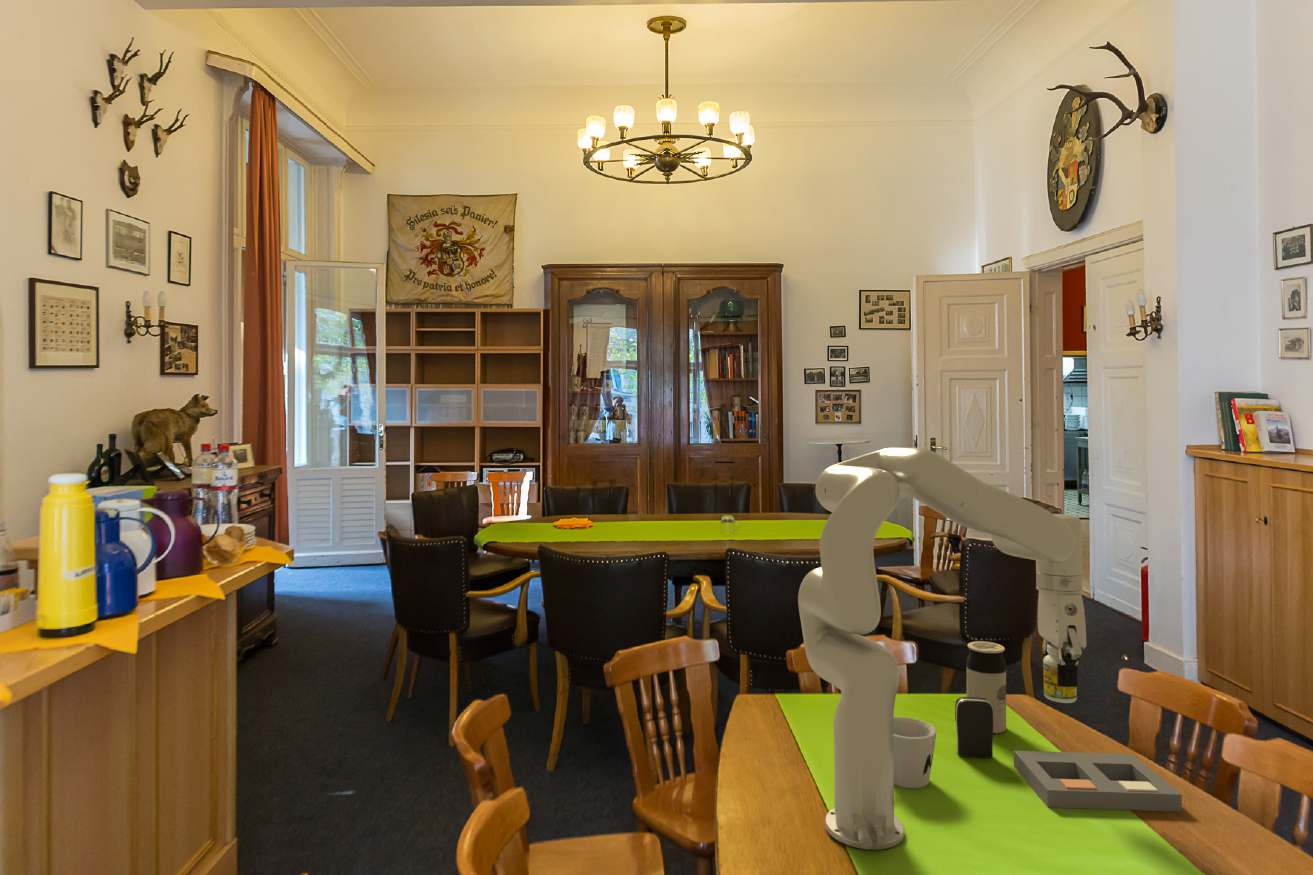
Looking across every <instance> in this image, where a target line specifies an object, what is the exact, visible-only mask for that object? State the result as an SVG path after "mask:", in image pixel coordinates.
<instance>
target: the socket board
mask: <svg viewBox="0 0 1313 875" xmlns="http://www.w3.org/2000/svg"><path fill="white" fill-rule="evenodd" d="M1013 767H1014V768H1015V769H1016V771H1017V772H1018V774H1020V776H1021V777H1022V778H1023V779H1024V780H1025V781H1026V783H1027V784H1028V785H1029V787H1031V789H1032V790H1033V791H1034V792H1035V794H1036V795H1037V796H1038V797H1039V799H1040V800H1041V801H1042V802H1043V804H1045V806H1046V807H1047V808H1060V809H1061V808H1063V809H1064V808H1065V809H1067V808H1068V809H1088V810H1089V809H1090V810H1091V809H1093V810H1115V811H1117V810H1118V811H1119V810H1120V811H1121V810H1123V811H1143V812H1145V811H1150V812H1175V813H1177V812H1179V813H1181V812H1183V807H1182V806H1183V803H1182V802H1183V799H1182V798H1183V797H1182V796H1183V794H1182V793H1180V791H1178V790H1177V789H1176V788H1174V787H1173V786H1172V785H1171V784H1170V783H1169V782H1168V781H1166V780H1165V779H1164V778H1162V777H1161V776H1160V775H1159V774H1158V773H1156V772H1155V771H1154V770H1153V769H1151V768H1150V767H1149V766H1147V765H1146V764H1145V763H1144V762H1143V761H1142V760H1140V759H1139V758H1138V757H1137V756H1135V755H1134V754H1133V753H1112V752H1110V753H1108V752H1107V753H1106V752H1105V753H1103V752H1102V753H1101V752H1076V751H1075V752H1074V751H1073V752H1072V751H1071V752H1070V751H1043V750H1042V751H1039V750H1038V751H1035V750H1033V751H1032V750H1013Z"/></svg>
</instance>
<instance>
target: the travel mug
mask: <svg viewBox="0 0 1313 875" xmlns="http://www.w3.org/2000/svg"><path fill="white" fill-rule="evenodd" d="M967 647H968V650H969V654H968V656H967V657H966V697H979V698H985V699H986V700H987V701H988V702H989V703H990V704H991V705H992V708H993V733H996V734H1000V733H1003V732H1006V730H1007V661H1006V660H1005V659H1004V657H1003V655H1004V651H1006V648H1005V647H1004V646H1003V645H1001V644H998V643H995V642H991V641H971V642H968V643H967Z"/></svg>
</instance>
